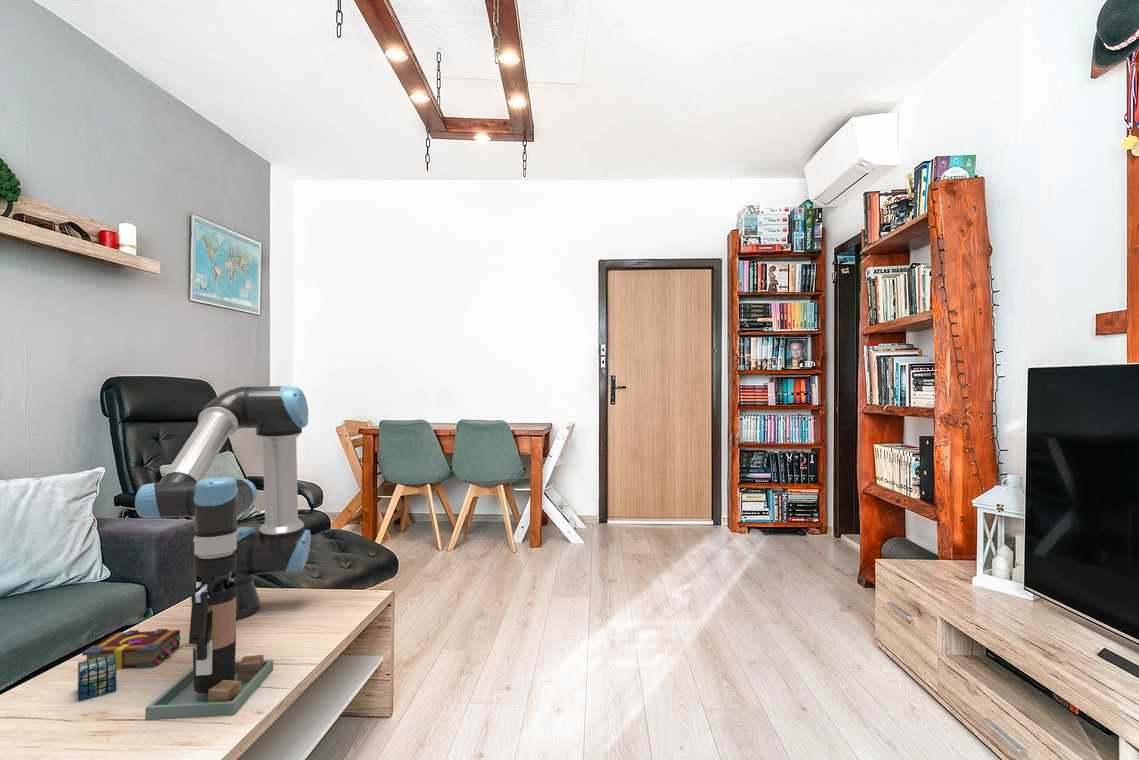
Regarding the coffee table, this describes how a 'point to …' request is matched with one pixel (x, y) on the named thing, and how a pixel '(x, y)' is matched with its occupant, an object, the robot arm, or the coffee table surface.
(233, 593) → the travel mug
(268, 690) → the coffee table surface
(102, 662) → the puzzle
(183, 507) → the robot arm
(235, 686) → the walnut block
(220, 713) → the tray
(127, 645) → the decorative book
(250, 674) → the walnut block
